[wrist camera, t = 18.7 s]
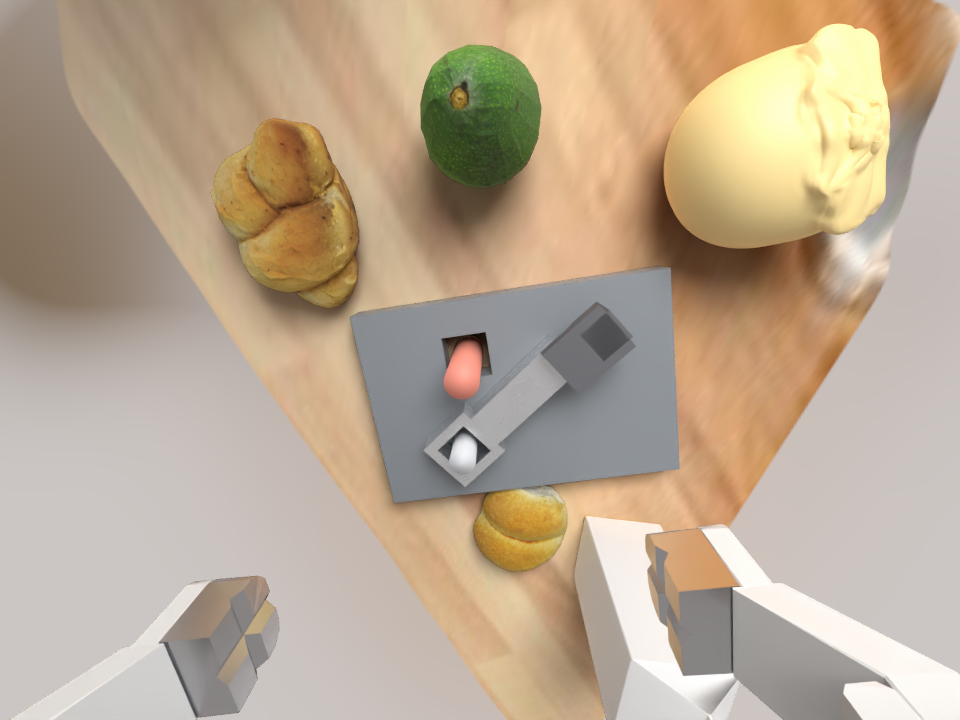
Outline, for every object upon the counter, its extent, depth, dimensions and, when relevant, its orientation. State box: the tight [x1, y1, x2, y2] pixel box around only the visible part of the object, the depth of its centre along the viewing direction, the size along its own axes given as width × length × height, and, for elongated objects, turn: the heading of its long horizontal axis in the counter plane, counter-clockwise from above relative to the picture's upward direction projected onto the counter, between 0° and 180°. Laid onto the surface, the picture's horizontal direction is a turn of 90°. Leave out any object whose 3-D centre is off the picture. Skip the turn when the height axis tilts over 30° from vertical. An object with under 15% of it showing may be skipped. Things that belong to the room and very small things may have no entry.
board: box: [350, 266, 680, 503], centre depth 35 cm, size 17×25×7 cm
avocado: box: [421, 45, 541, 188], centre depth 28 cm, size 8×8×12 cm
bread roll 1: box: [210, 119, 359, 308], centre depth 32 cm, size 13×10×8 cm
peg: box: [444, 336, 483, 399], centre depth 34 cm, size 2×2×9 cm
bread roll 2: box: [474, 485, 568, 572], centre depth 41 cm, size 8×9×4 cm
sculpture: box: [664, 24, 890, 248], centre depth 28 cm, size 12×12×11 cm
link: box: [423, 335, 567, 487], centre depth 35 cm, size 13×5×2 cm, turn 136°
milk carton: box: [574, 516, 740, 720], centre depth 34 cm, size 7×7×19 cm
